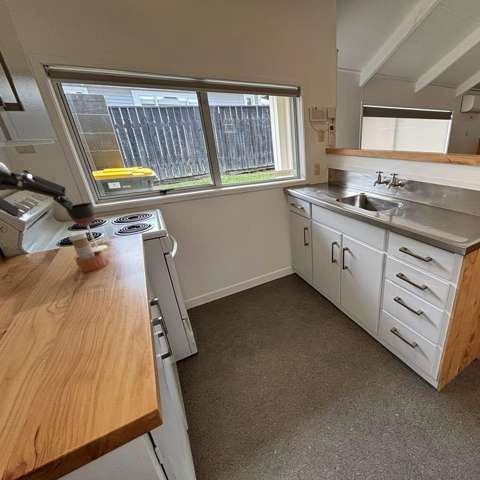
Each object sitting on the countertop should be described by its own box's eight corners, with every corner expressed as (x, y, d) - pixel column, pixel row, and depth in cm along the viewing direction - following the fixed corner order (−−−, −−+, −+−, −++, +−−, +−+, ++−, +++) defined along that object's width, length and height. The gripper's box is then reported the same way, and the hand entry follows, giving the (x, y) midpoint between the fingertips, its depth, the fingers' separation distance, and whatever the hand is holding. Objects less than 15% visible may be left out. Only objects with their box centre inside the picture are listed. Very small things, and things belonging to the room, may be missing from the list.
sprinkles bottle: (91, 263, 100) (77, 231, 95) (101, 263, 100) (87, 231, 95) (80, 269, 96) (64, 235, 91) (90, 269, 96) (75, 235, 90)
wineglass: (80, 252, 113) (60, 208, 105) (100, 244, 121) (82, 202, 113) (94, 253, 111) (74, 208, 103) (113, 245, 119) (96, 203, 111)
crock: (79, 267, 98) (74, 256, 97) (105, 260, 103) (100, 249, 101) (81, 274, 93) (75, 262, 91) (107, 266, 98) (102, 255, 96)
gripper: (-107, 182, 55) (-11, 226, 74) (36, 171, 62) (91, 214, 81) (-96, 154, 58) (-5, 204, 77) (40, 147, 64) (92, 194, 83)
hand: (44, 209), depth 79 cm, fingers open, 13 cm apart
